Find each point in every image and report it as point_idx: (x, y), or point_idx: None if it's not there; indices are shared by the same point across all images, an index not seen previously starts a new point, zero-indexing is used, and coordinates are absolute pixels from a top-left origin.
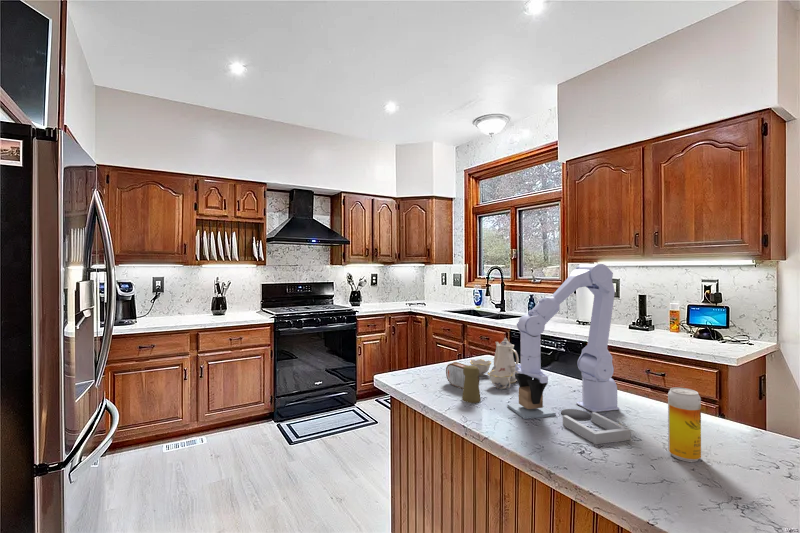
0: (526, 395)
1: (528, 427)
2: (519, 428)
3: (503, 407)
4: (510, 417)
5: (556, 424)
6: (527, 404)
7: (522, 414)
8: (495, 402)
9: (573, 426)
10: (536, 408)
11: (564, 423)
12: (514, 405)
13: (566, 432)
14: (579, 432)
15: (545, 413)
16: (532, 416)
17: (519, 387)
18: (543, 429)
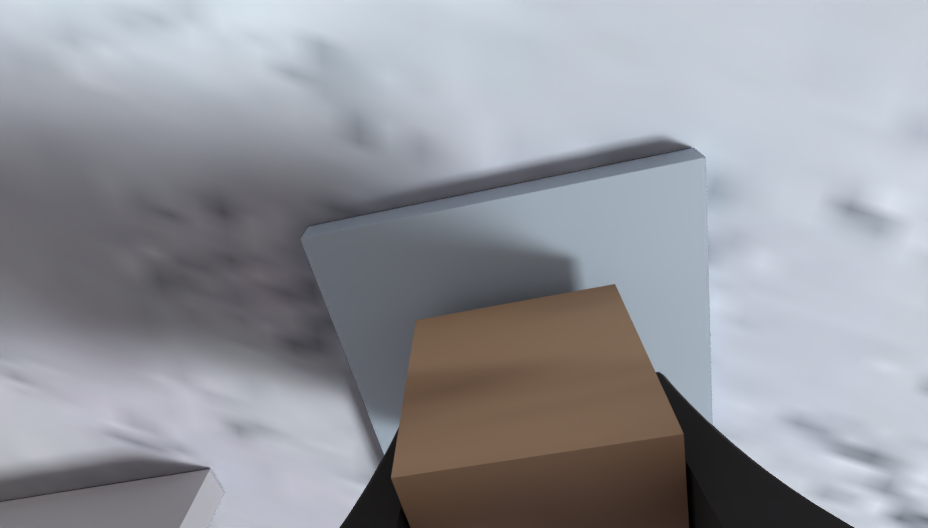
0: (429, 424)
1: (78, 188)
2: (19, 82)
3: (691, 93)
4: (346, 80)
5: (211, 432)
6: (414, 351)
7: (349, 229)
8: (905, 35)
9: (69, 518)
10: None
11: (182, 486)
12: (646, 231)
13: (55, 440)
14: (18, 511)
15: (387, 436)
16: (332, 311)
17: (659, 441)
18: (67, 304)
